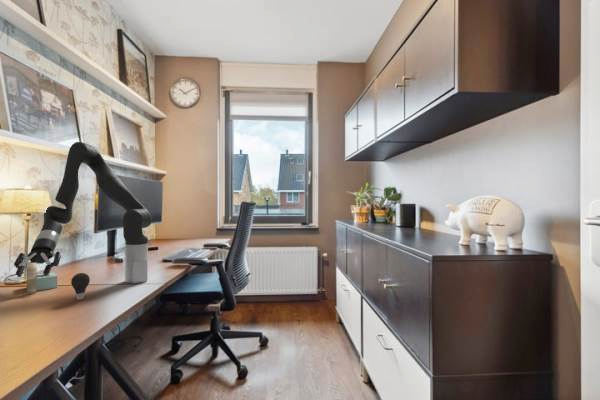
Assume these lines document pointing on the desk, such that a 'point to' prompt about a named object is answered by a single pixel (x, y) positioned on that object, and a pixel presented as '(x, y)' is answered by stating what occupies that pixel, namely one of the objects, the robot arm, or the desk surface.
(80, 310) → the desk surface
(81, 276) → the light bulb
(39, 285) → the bead block
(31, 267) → the dowel
